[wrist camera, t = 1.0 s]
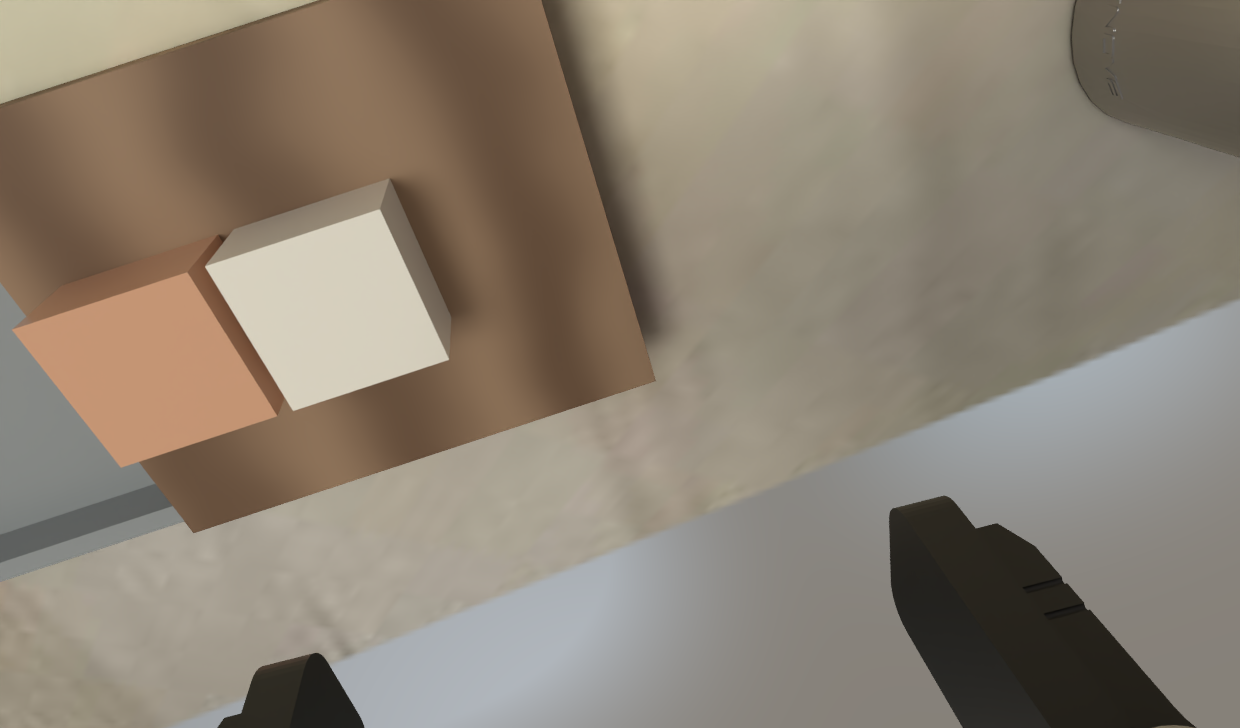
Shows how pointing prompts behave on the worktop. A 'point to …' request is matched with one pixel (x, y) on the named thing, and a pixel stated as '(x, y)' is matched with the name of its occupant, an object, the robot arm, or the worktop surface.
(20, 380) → the tray
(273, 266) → the ivory square block
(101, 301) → the terracotta tile
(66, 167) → the walnut board
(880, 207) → the worktop surface
